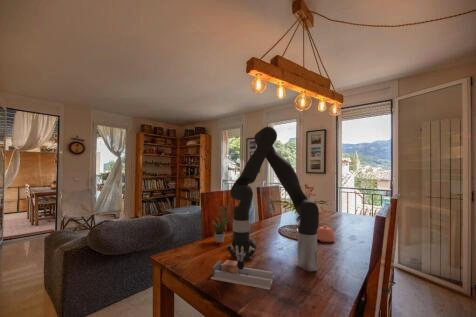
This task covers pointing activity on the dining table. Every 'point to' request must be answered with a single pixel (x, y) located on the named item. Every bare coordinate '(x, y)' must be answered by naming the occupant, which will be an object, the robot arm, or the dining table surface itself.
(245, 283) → the chute
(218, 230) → the house plant
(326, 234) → the sugar bowl
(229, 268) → the block
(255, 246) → the alarm clock
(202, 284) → the dining table surface
